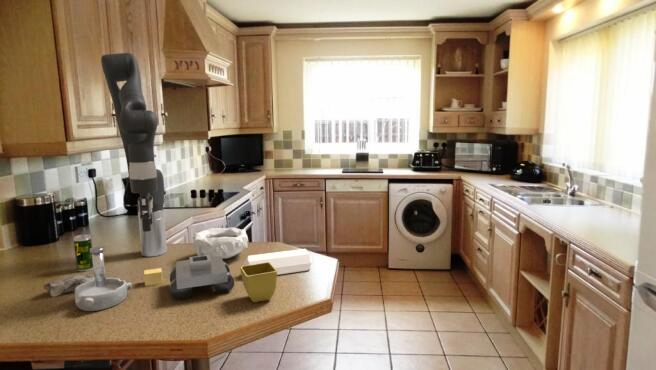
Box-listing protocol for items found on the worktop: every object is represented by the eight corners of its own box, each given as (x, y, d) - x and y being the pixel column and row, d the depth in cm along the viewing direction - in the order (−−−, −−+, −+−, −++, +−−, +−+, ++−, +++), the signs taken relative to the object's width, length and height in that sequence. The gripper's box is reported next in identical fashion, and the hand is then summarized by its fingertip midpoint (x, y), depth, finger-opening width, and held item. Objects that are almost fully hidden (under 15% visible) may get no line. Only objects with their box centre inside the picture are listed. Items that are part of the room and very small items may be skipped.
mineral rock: (101, 280, 134) (99, 267, 133) (101, 288, 127) (100, 275, 127) (46, 290, 127) (44, 276, 126) (44, 299, 120) (42, 285, 119)
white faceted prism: (244, 271, 129) (317, 261, 137) (241, 254, 134) (311, 246, 142) (243, 286, 133) (314, 276, 141) (240, 269, 139) (308, 260, 147)
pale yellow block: (145, 282, 132) (144, 270, 131) (162, 279, 134) (161, 267, 133) (145, 286, 128) (144, 274, 128) (162, 284, 130) (161, 272, 129)
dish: (92, 317, 108) (90, 299, 108) (63, 306, 115) (61, 289, 114) (140, 297, 121) (139, 280, 120) (111, 288, 128) (110, 273, 127)
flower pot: (247, 307, 112) (246, 276, 111) (241, 295, 120) (239, 266, 119) (278, 301, 116) (277, 271, 114) (270, 290, 124) (269, 261, 122)
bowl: (209, 248, 167) (208, 224, 165) (257, 250, 163) (256, 225, 161) (182, 265, 147) (180, 238, 145) (235, 268, 142) (233, 240, 141)
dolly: (170, 283, 130) (168, 254, 128) (228, 275, 136) (226, 247, 135) (170, 304, 115) (167, 271, 114) (235, 293, 121) (233, 262, 120)
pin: (94, 284, 118) (90, 247, 117) (108, 282, 119) (105, 245, 118) (92, 288, 115) (88, 250, 113) (107, 286, 116) (103, 249, 114)
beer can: (77, 268, 145) (74, 235, 144) (95, 265, 148) (91, 233, 146) (75, 273, 141) (72, 239, 139) (93, 270, 143) (90, 237, 141)
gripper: (132, 174, 131) (136, 223, 133) (127, 180, 118) (132, 234, 120) (157, 173, 133) (161, 221, 136) (155, 178, 120) (160, 232, 123)
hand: (147, 227), depth 128 cm, fingers open, 8 cm apart
